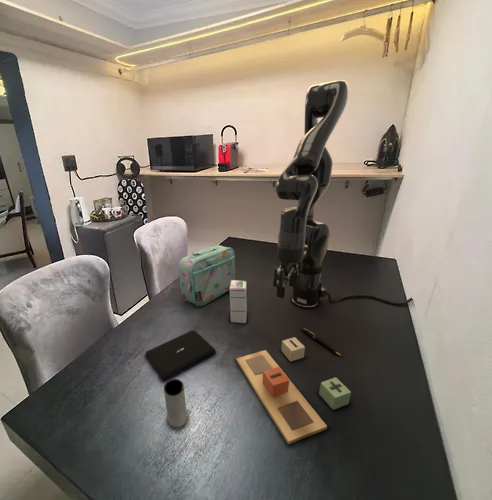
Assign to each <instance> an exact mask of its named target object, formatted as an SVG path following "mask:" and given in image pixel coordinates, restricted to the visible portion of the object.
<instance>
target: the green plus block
mask: <svg viewBox="0 0 492 500" xmlns="http://www.w3.org/2000/svg"><path fill="white" fill-rule="evenodd" d="M319 385H320V386H319V392H318V395H319V396H320V398H322V399H323V400H324V401H325V403H326V404H327V405H328V406H329V407H330V408H331V409H332V410H333V411H335V410H337V409H339V408H342V407H345V406H347V405H349V403H350V399H351V395H352V391H351V390H350V389H348V387H347V386H346V385H345V384H344V383H342V382H341V381H340V379H338V378H337V376H336V377H335V376H334V377H333V378H330V379H327V380H324V381H321V382H320V384H319Z"/></svg>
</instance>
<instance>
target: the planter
mask: <svg viewBox="0 0 492 500" xmlns="http://www.w3.org/2000/svg"><path fill="white" fill-rule="evenodd" d="M163 393H164V400H165V409H166V414H167V415H166V416H167V421H168V424H169V425H170V426H171V427H172V428H176V429H177V428H181V427H183V426H184V425H185V424H186V422H187V420H188V415H187V404H186V394H185V385H184V382H182V380H180V379H179V378H172V379H171V378H170V379H168V380H167V381H166V383H165V384H164V385H163Z"/></svg>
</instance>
